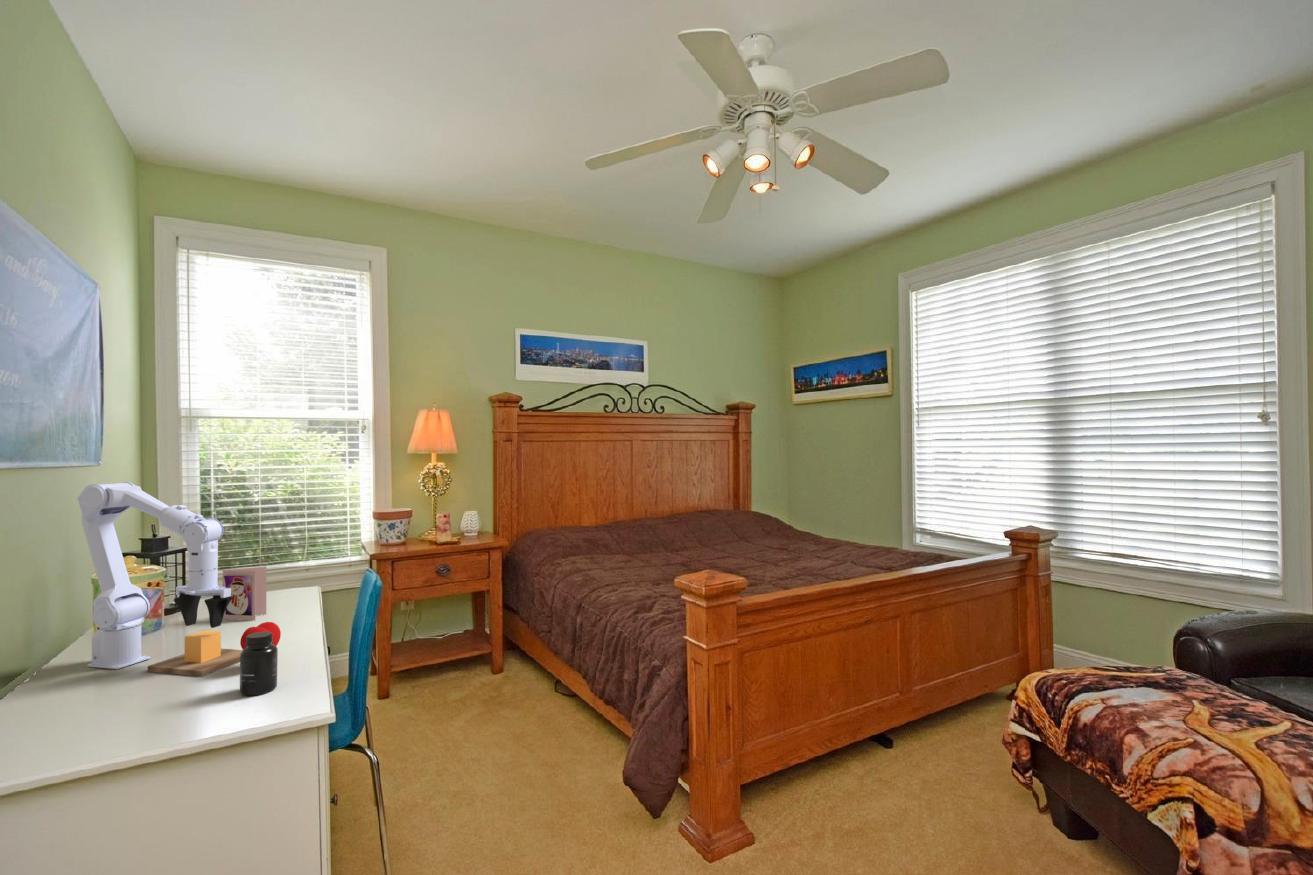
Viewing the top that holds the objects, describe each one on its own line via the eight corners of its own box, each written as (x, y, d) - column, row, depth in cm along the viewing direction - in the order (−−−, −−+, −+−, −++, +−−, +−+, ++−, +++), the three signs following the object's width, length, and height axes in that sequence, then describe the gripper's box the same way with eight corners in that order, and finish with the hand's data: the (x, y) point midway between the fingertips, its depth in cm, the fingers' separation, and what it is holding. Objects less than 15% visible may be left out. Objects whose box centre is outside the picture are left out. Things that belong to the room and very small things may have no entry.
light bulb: (257, 674, 141) (257, 631, 141) (231, 672, 143) (231, 629, 143) (288, 660, 150) (288, 619, 151) (264, 659, 152) (264, 618, 152)
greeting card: (220, 619, 188) (220, 570, 188) (240, 613, 195) (240, 566, 195) (252, 621, 186) (253, 571, 186) (272, 614, 193) (272, 566, 193)
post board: (147, 671, 144) (147, 646, 144) (204, 651, 158) (204, 629, 158) (202, 676, 141) (202, 651, 141) (255, 656, 154) (255, 633, 154)
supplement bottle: (237, 699, 127) (237, 641, 128) (241, 688, 134) (241, 632, 134) (276, 692, 131) (276, 636, 131) (278, 682, 137) (278, 628, 137)
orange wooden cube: (184, 661, 147) (184, 636, 147) (204, 654, 152) (204, 630, 152) (201, 662, 146) (201, 637, 146) (220, 655, 151) (220, 631, 151)
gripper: (163, 571, 147) (163, 628, 147) (211, 574, 144) (211, 632, 144) (191, 566, 154) (191, 620, 154) (238, 568, 151) (238, 623, 151)
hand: (203, 625), depth 149 cm, fingers open, 7 cm apart
